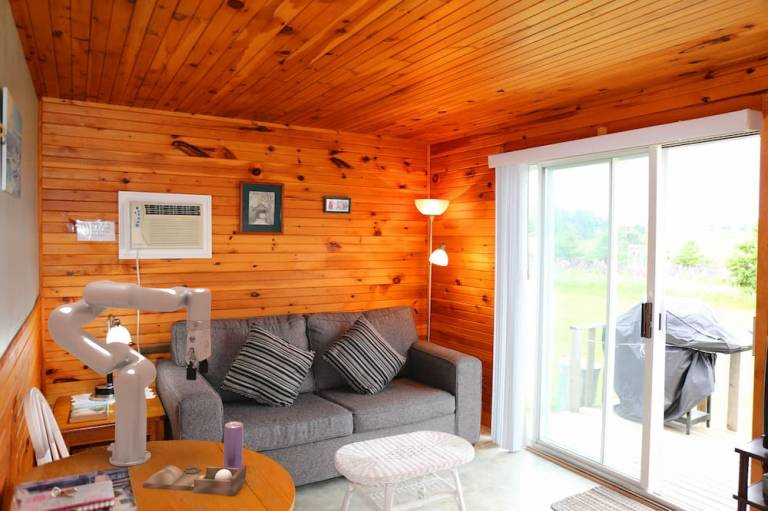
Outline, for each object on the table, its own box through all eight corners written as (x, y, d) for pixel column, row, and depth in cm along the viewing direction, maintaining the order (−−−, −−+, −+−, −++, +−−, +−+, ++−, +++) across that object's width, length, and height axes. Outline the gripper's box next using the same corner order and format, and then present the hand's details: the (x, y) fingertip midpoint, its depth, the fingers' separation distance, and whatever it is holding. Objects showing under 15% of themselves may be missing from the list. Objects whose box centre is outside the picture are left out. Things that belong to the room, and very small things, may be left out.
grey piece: (188, 476, 178) (188, 474, 178) (182, 471, 182) (182, 469, 182) (202, 472, 181) (202, 470, 181) (196, 467, 185) (196, 466, 185)
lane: (140, 503, 168) (141, 472, 168) (157, 488, 178) (157, 459, 178) (234, 509, 166) (234, 478, 165) (245, 494, 176) (246, 465, 175)
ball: (208, 480, 169) (218, 467, 169) (217, 476, 174) (227, 464, 174) (219, 492, 168) (229, 479, 168) (228, 488, 173) (238, 475, 172)
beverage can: (237, 475, 180) (238, 428, 180) (219, 473, 181) (220, 426, 181) (245, 468, 186) (246, 422, 185) (228, 466, 187) (229, 420, 187)
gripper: (198, 329, 181) (197, 383, 181) (219, 322, 198) (218, 371, 198) (176, 328, 181) (174, 382, 182) (198, 321, 199) (197, 370, 199)
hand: (197, 376), depth 190 cm, fingers open, 9 cm apart
